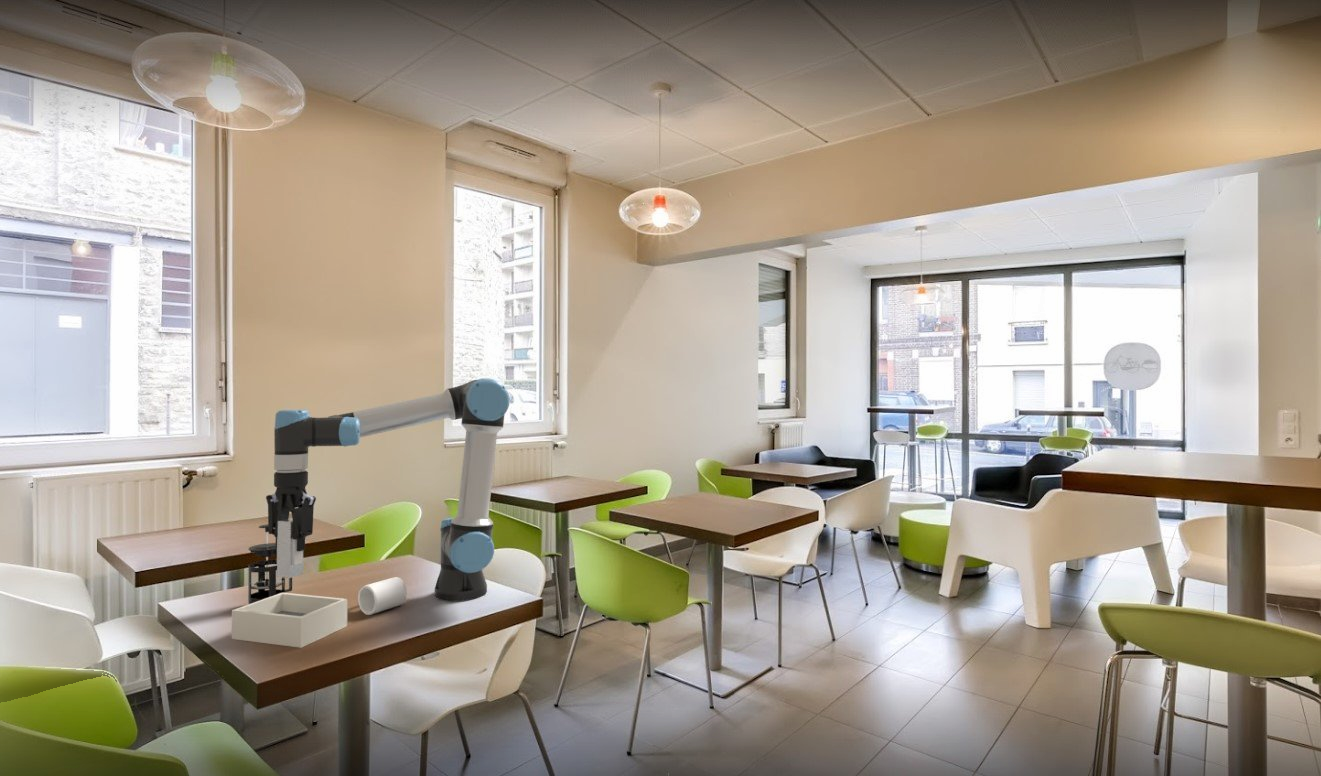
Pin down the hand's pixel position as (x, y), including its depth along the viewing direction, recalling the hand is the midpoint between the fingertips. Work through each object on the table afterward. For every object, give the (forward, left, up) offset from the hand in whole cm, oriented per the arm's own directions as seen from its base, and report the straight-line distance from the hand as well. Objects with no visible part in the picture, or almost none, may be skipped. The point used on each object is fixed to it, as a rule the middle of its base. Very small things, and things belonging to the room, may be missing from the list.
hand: (289, 563), depth 165 cm
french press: (+23, -16, -18) cm, 33 cm away
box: (0, 0, -18) cm, 18 cm away
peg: (0, 0, -3) cm, 3 cm away
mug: (-9, -22, -18) cm, 29 cm away
